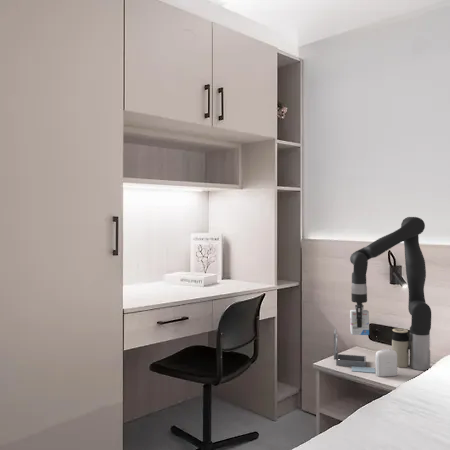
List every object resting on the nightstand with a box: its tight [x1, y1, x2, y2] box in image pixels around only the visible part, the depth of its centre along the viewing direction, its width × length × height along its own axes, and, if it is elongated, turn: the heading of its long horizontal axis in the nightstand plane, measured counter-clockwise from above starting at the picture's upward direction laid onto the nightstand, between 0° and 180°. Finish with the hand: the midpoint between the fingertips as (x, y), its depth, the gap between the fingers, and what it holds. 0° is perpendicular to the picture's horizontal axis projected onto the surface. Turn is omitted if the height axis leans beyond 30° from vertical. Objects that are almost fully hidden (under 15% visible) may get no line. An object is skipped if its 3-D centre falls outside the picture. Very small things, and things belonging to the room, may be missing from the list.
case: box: [333, 328, 367, 368], centre depth 245 cm, size 16×11×16 cm
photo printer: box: [374, 348, 398, 377], centre depth 227 cm, size 10×4×12 cm, turn 96°
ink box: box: [349, 309, 370, 336], centre depth 237 cm, size 9×5×12 cm, turn 83°
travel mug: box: [391, 327, 410, 368], centre depth 241 cm, size 8×8×18 cm
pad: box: [351, 366, 376, 374], centre depth 234 cm, size 11×7×1 cm, turn 74°
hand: (359, 325), depth 237 cm, fingers closed on ink box, 5 cm apart
